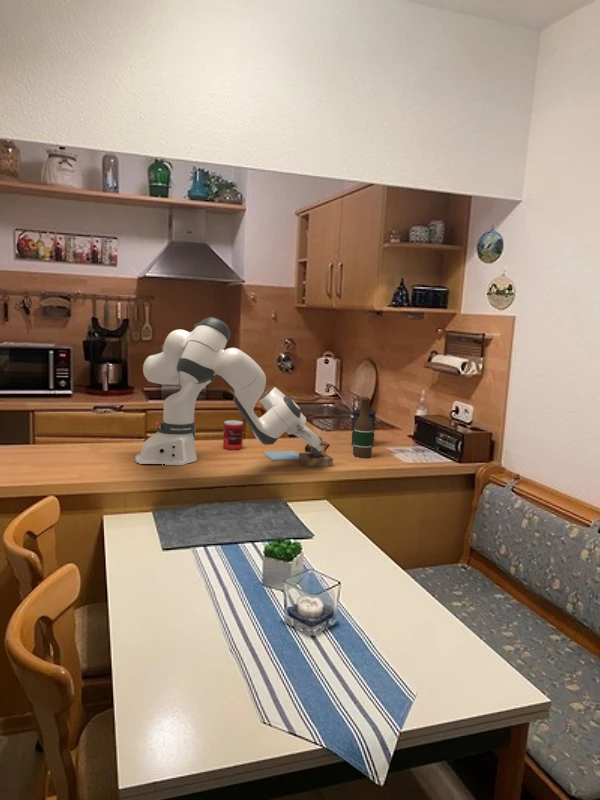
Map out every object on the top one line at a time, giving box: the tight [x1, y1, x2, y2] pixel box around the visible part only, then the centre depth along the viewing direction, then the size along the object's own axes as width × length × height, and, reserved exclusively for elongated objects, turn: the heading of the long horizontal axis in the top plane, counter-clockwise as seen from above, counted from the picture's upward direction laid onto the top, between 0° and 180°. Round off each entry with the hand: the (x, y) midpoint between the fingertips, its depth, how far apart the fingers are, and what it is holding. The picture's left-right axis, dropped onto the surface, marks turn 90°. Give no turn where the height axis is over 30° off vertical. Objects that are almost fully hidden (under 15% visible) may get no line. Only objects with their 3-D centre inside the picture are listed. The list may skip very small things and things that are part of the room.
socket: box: [298, 452, 334, 468], centre depth 231 cm, size 10×10×3 cm
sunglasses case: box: [304, 440, 330, 453], centre depth 258 cm, size 18×7×7 cm
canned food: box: [222, 419, 244, 451], centre depth 249 cm, size 8×8×11 cm
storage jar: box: [351, 409, 377, 447], centre depth 268 cm, size 10×10×15 cm
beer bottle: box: [352, 396, 373, 459], centre depth 245 cm, size 8×8×24 cm
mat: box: [262, 450, 299, 462], centre depth 240 cm, size 13×13×1 cm
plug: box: [310, 433, 323, 458], centre depth 231 cm, size 4×4×11 cm
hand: (317, 448), depth 231 cm, fingers closed on plug, 4 cm apart
